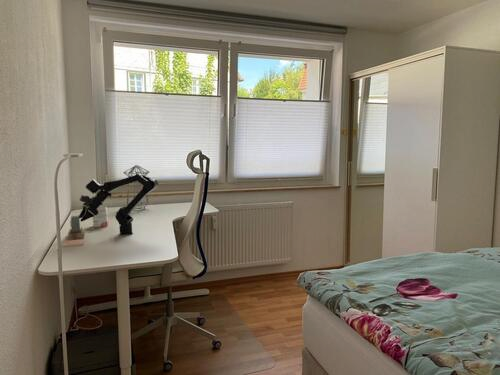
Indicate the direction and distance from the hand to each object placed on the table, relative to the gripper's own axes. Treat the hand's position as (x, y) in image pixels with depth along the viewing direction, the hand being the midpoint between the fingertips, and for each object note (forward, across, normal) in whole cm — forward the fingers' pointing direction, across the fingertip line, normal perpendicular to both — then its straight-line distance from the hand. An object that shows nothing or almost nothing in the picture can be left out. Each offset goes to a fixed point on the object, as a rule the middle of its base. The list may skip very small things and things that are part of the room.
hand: (79, 219), depth 212 cm
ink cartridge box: (-3, -20, +17) cm, 27 cm away
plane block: (+8, 0, +5) cm, 10 cm away
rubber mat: (+11, +14, +3) cm, 18 cm away
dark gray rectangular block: (+6, 0, +3) cm, 7 cm away
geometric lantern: (-28, -62, +42) cm, 80 cm away
